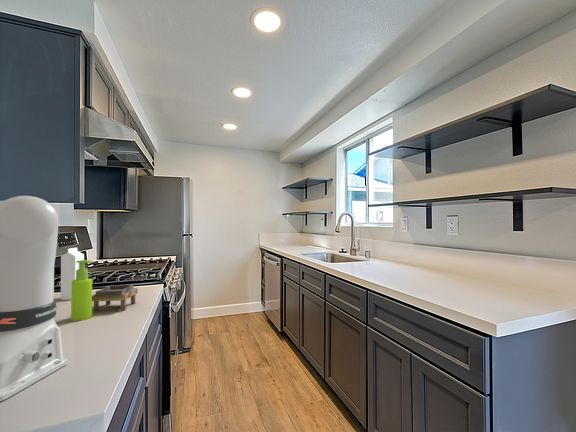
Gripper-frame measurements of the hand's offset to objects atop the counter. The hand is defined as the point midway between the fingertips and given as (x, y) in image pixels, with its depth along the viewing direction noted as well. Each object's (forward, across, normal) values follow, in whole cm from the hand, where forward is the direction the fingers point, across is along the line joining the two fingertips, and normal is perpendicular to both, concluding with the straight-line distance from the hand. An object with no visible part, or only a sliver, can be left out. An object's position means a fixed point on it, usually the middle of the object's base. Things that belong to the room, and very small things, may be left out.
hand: (32, 239), depth 98 cm
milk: (0, -32, -27) cm, 42 cm away
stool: (+24, -13, -25) cm, 37 cm away
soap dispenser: (+18, -1, -26) cm, 32 cm away
